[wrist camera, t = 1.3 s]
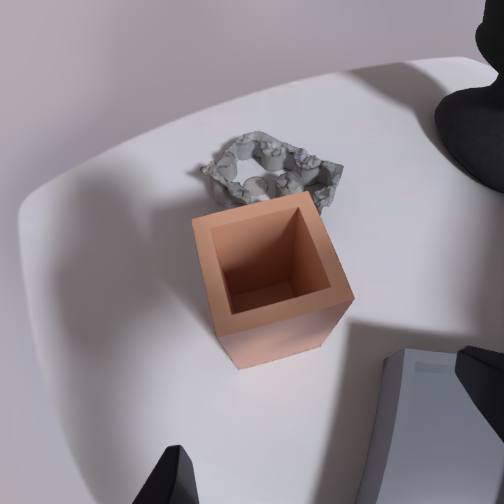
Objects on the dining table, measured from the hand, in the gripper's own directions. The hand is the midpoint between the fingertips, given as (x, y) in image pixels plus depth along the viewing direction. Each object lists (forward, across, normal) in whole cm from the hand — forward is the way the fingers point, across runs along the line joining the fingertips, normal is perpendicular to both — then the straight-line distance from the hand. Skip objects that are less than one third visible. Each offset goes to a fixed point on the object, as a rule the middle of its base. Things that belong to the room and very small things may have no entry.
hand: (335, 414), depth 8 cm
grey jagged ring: (+23, -4, -3) cm, 23 cm away
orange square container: (+14, 0, +4) cm, 15 cm away
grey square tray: (+3, -10, +16) cm, 19 cm away
